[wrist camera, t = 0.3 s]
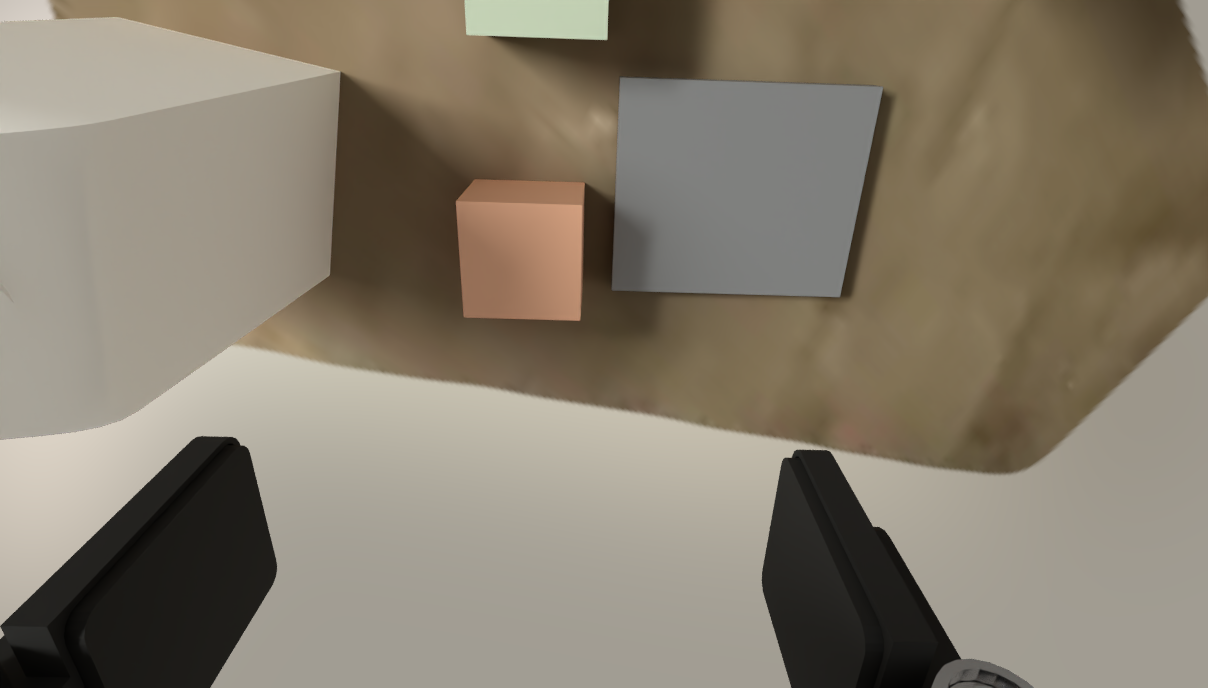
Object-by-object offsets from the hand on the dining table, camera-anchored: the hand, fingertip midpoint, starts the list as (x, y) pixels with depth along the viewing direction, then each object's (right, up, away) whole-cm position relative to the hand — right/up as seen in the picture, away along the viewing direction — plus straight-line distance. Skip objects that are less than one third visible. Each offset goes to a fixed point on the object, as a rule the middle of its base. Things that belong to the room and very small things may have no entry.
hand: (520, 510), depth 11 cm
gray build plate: (+9, +12, +26) cm, 30 cm away
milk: (-20, +14, +26) cm, 35 cm away
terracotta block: (-3, +10, +28) cm, 29 cm away
